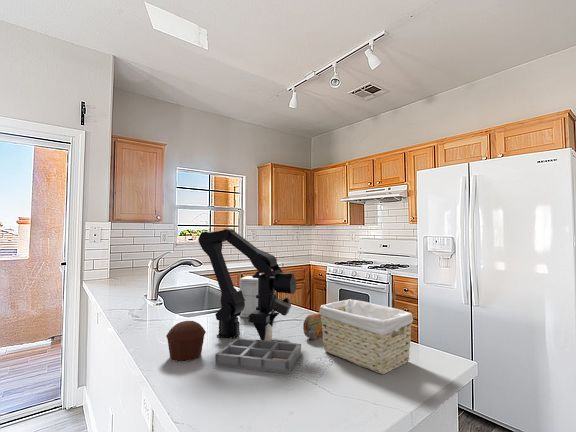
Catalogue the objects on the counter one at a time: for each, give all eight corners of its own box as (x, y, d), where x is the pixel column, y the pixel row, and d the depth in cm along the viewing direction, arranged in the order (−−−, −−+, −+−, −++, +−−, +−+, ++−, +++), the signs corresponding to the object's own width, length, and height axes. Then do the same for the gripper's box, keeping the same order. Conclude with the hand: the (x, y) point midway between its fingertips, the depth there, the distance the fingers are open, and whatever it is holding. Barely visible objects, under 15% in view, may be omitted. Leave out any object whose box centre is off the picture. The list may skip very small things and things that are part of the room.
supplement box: (265, 313, 148) (266, 276, 149) (259, 318, 139) (259, 279, 140) (246, 311, 150) (246, 275, 151) (238, 316, 141) (239, 278, 142)
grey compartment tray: (215, 365, 90) (215, 354, 90) (236, 347, 104) (236, 337, 105) (288, 374, 85) (288, 362, 85) (300, 353, 99) (300, 343, 99)
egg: (258, 342, 109) (258, 324, 109) (262, 338, 113) (262, 320, 113) (269, 343, 108) (269, 325, 108) (273, 339, 112) (273, 321, 112)
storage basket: (416, 363, 92) (415, 311, 93) (384, 379, 82) (383, 321, 83) (350, 341, 111) (350, 298, 111) (317, 352, 100) (317, 304, 101)
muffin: (188, 366, 90) (189, 330, 90) (157, 360, 93) (157, 325, 94) (212, 351, 101) (213, 319, 101) (183, 346, 104) (184, 315, 105)
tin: (308, 342, 109) (308, 317, 110) (301, 339, 112) (301, 315, 112) (336, 332, 120) (336, 310, 120) (329, 331, 122) (329, 308, 122)
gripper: (280, 298, 100) (280, 349, 99) (295, 288, 118) (295, 331, 117) (247, 296, 103) (247, 345, 102) (266, 286, 121) (266, 328, 120)
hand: (265, 337), depth 110 cm, fingers open, 6 cm apart
